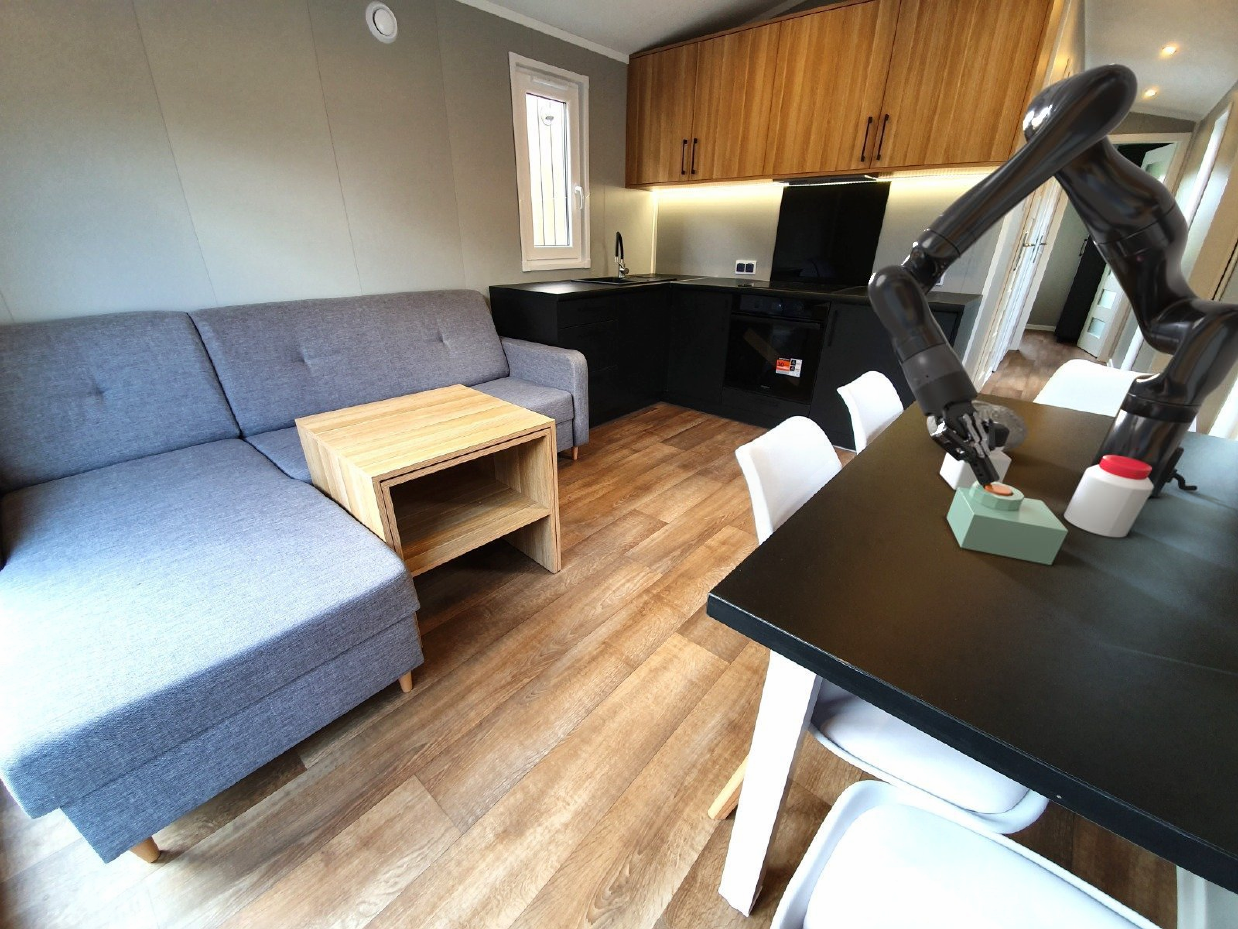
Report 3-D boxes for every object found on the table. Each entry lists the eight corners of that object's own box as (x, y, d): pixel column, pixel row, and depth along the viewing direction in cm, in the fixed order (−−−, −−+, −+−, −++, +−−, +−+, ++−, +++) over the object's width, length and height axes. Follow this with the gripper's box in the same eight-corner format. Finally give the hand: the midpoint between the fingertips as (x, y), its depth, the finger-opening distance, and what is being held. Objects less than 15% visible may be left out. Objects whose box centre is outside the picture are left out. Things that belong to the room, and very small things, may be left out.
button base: (1026, 532, 76) (1046, 489, 72) (1051, 565, 68) (1074, 519, 65) (946, 517, 79) (961, 476, 76) (960, 547, 71) (978, 503, 68)
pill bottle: (1111, 517, 81) (1143, 456, 76) (1138, 541, 74) (1176, 477, 70) (1055, 508, 83) (1083, 448, 78) (1076, 531, 76) (1109, 468, 72)
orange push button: (1002, 497, 74) (1007, 485, 73) (1010, 507, 71) (1015, 495, 70) (978, 493, 75) (982, 481, 74) (984, 503, 72) (989, 490, 71)
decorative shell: (915, 427, 117) (928, 387, 113) (1003, 440, 111) (1020, 398, 107) (928, 455, 102) (943, 410, 98) (1030, 471, 96) (1051, 424, 92)
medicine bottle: (997, 495, 86) (1024, 432, 81) (953, 490, 88) (977, 428, 82) (979, 478, 93) (1002, 418, 88) (938, 473, 94) (959, 414, 89)
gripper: (934, 371, 71) (991, 483, 66) (985, 364, 77) (1041, 467, 72) (890, 395, 77) (940, 498, 73) (940, 387, 83) (989, 482, 79)
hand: (990, 482), depth 73 cm, fingers closed
